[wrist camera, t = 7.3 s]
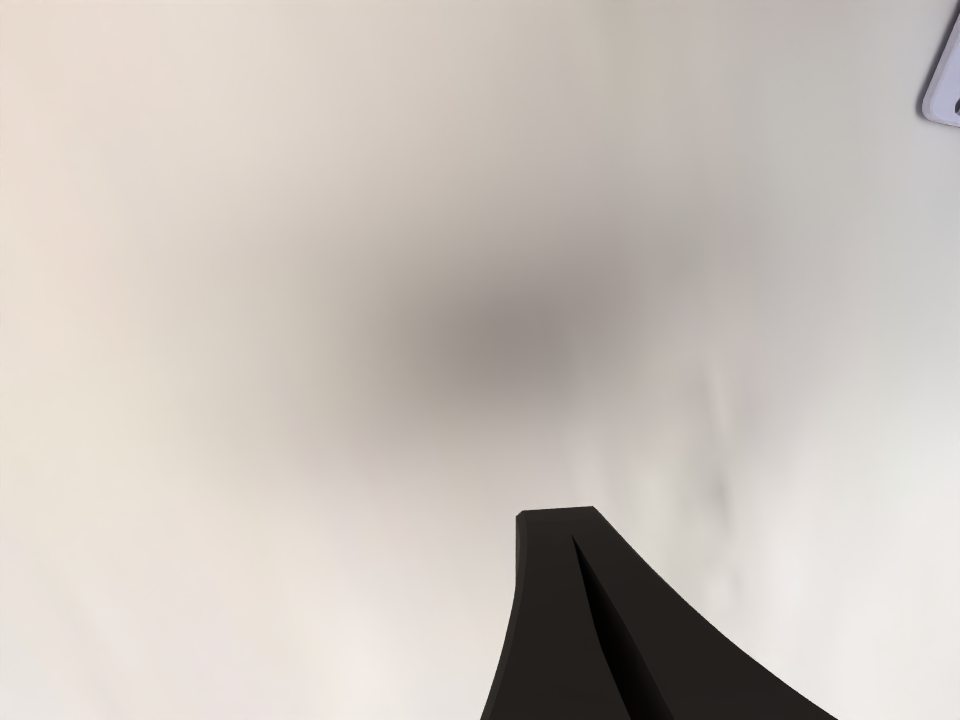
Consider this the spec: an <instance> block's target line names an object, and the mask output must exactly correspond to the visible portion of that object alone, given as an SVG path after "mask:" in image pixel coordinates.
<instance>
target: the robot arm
mask: <svg viewBox="0 0 960 720" xmlns="http://www.w3.org/2000/svg"><path fill="white" fill-rule="evenodd" d="M959 99H960V13H959V16H958V18H957V21H956V23H955V25H954V28H953V30H952V33H951V35H950V37H949V40H948V42H947V45H946V47H945V49H944V52H943V54H942V56H941V59H940V61H939V64H938V66H937V68H936V71H935V73H934V76H933V78H932V80H931V83H930V85H929V88H928V90H927V92H926V95H925V97H924V100H923V104H922V112H923V114H924V116H925V117H926V118H927V119H929V120H931V121H934V122H939V123H943V124H948V125H952V126H957V127H960V110H959V111H958V113H956V112H955V105H956V103H957V101H958V100H959ZM480 720H838V719H836V718H835V717H833V716H832V715H830V714H829V713H827V712H826V711H824V710H823V709H821V708H820V707H818V706H817V705H815V704H814V703H812V702H811V701H809V700H808V699H807V698H805V697H804V696H802V695H801V694H799V693H798V692H797V691H795V690H794V689H792V688H791V687H790V686H788V685H787V684H786V683H784V682H783V681H782V680H780V679H779V678H778V677H776V676H775V675H774V674H772V673H771V672H770V671H768V670H767V669H766V668H765V667H763V666H762V665H761V664H759V663H758V662H757V661H755V660H754V659H753V658H751V657H750V656H749V655H747V654H746V653H745V652H744V651H742V650H741V649H740V648H739V647H737V646H736V645H735V644H734V643H733V642H731V641H730V640H729V639H728V638H727V637H725V636H724V635H723V634H722V633H721V632H720V631H718V630H717V629H716V628H715V627H714V626H713V625H712V624H710V623H709V622H708V621H707V620H706V619H705V618H704V617H703V616H701V615H700V614H699V613H698V612H697V611H696V610H695V609H694V608H693V607H692V606H690V605H689V604H688V603H687V602H686V601H685V600H684V599H683V598H682V597H681V596H680V595H679V594H678V593H677V592H676V591H675V590H674V589H673V588H672V587H671V586H669V585H668V584H667V583H666V582H665V581H664V580H663V579H662V578H661V577H660V576H659V575H658V574H657V573H656V572H655V571H654V570H653V569H652V568H651V567H650V566H649V565H648V564H647V563H646V562H645V561H644V560H643V559H642V558H641V557H640V555H639V554H638V553H637V552H636V551H635V550H634V549H633V548H632V547H631V546H630V545H629V544H628V543H627V542H626V541H625V540H624V538H623V537H622V536H621V535H620V534H619V533H618V532H617V531H616V530H615V529H614V528H613V527H612V525H611V524H610V523H609V522H608V521H607V520H606V519H605V518H604V517H603V516H602V514H601V513H600V512H599V511H598V510H597V509H596V508H594V507H593V506H588V507H572V508H556V509H540V510H524V511H522V512H520V513H519V514H518V515H517V516H516V587H515V594H514V600H513V606H512V610H511V615H510V619H509V623H508V628H507V632H506V636H505V641H504V645H503V649H502V652H501V656H500V660H499V663H498V667H497V670H496V673H495V677H494V680H493V683H492V686H491V689H490V692H489V696H488V699H487V702H486V705H485V708H484V710H483V713H482V716H481V719H480Z"/></svg>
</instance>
